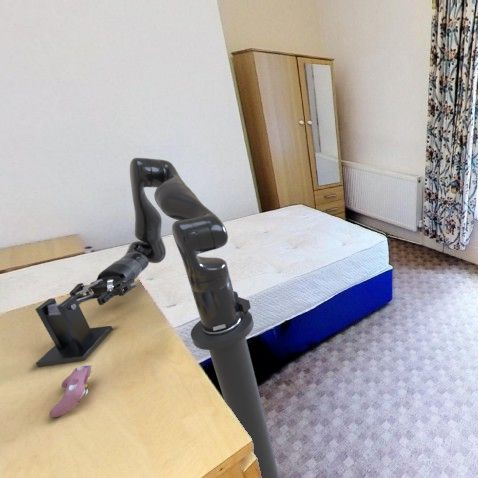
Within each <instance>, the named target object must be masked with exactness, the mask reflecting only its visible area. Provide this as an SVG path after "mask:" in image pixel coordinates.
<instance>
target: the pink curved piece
mask: <svg viewBox="0 0 478 478" xmlns="http://www.w3.org/2000/svg"><path fill="white" fill-rule="evenodd" d="M91 373H92V365H82V366H76V368H74V369H73V371H72V372H71V374H69V375H68V376H67V377H66V378H65V379H64V380H63V381H62V383H61V388H63V389H65V390H64V394H63V395H62V398H61V399H60V400H59V401H58V403H56V404H55V405H54V406H53V407H51V409H50V411H49V417H51V418H59V417H60V416H63V415H65V414H67V413H69V412H70V411H71V410H72V409H73V408H74V407H75V406H76V405H78V404H79V403H80V401H81V399H82V398H83V396H87V394H88V392H89V389H88V385H89V384H87V381H88V379H89V378H90V376H91Z"/></svg>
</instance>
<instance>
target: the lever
mask: <svg viewBox="0 0 478 478" xmlns="http://www.w3.org/2000/svg"><path fill="white" fill-rule="evenodd" d="M102 294H103V293H101V294H92V295H86V294H83V295H82V296H78V299H77V302H78V304H79V305H81V304H82V303H85V302H87V301H88V302H89V301H90V300H93V299H97V298H98V297H100V296H101V295H102ZM62 302H63V301H60V302H56V303H55V304H52V305H49V306H47V307H48V313H49V316H50V315H59V314H60V312H59V310H58V308H57V306H59V305H60V304H61V303H62ZM80 303H81V304H80Z"/></svg>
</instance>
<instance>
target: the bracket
mask: <svg viewBox="0 0 478 478" xmlns="http://www.w3.org/2000/svg"><path fill="white" fill-rule="evenodd" d="M61 302H62V303H61V304H60V305H59V306H57V308H58V310H59V312H60V314H59V315H50V316H49V313H48V307H47V306H49V305H52V304H55V303H57V300H56V299H55V298H54V297H53V298H47V300H45V301H44V302H43V303H41V304H40V305H38V306H37V307H36V308H35V309H34V310H35V312H36V313H37V315H38V317H39V318H40V320H41V323H42V324H43V326H44V327H45V330H46V332H47V333H48V335H49V336H50V339H51V340H52V342H53V343H54V346H52V348H50V349H49V350H48V351H46V353H45V354H44V355H43V356H42V357H40V358H39V359H38V360H37V361H36V362H35V364H36V366H37V368H41V367H49V366H55V365H61V364H68V363H75V362H83V361H85V360H86V359H87V358H88V357H89V356H90V355H91V354H92V353H93V352H94V351H95V350H96V349H97V347H98V346H99V345H100V344H101V343H102V342H103V341H104V340H105V339H106V337H108V336H109V334H110V333H111V332H112V331H113V330H114V329H113V326H112V325H104V326H96V327H90V325H89V323H88V321H87V319H86V316H85V315H84V312H83V311H82V309H81V306H80V304H78V302H77V300H76V298H75V296H69V297H67V298H66V299H64V300H63V301H61Z"/></svg>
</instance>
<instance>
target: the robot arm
mask: <svg viewBox="0 0 478 478" xmlns="http://www.w3.org/2000/svg"><path fill="white" fill-rule="evenodd" d="M129 180H130V189H131V197H132V203H133V209H134V237H135V238H136V239H137V240H135V241H132V242H131V243H130V244H129V245H128V247H127V251H126V252H125V254H123V256H122V257H121V258H119V259H118V260H116V261H114V262H113V263H111V264H110V265H108V266H107V267H106V268H104V270H102V271H101V272H99V274H98V275H97V278H96V280H94V281H92V282H90V283H89V284H84V283H83V282H81V283H77V284H76V285H75V286H74V287H73V288H72V289H71V290H70V292H69V293H68V294H69V297H71V296H75V298H76V300H77V299H78V296H82V295H92V294H101V293H103V294H102V295H101V296H100V297H98V298H96V301H97V303H98V305H99V306H104V305H105V304H106V303H108V302H109V301H110V300H111V299H114V298H116V297H117V296H118V297H123V296H125V295H126V294H127V293H129V292H130V291H132V290H133V289H135V288H136V287H137V283H136V281H135V280H136V279H137V278H138V277H139V276H140V274H141V273H142V272H143V271H145V270H146V268H147V267H148V266H149V264H150V263H151V264H159V263H162V261H164V260H165V258H166V255H167V248H166V245H165V242H164V239H163V236H162V228H163V227H162V226H163V225H162V224H163V219H162V216H161V214H160V212H159V210H157V208H156V207H155V206H154V205H153V203H152V202H151V201H150V200H149V198H148V196H147V195H146V191H145V188H151V189H152V188H153V189H154V188H155V191H154V194H153V195H154V200H155V203H156V205H157V206H158V207H159V209H160V210H161V212H162V213H163V214H164V215H165V216H167V217H168V218H171V219H173V220H176V221H174V222H173V223H172V225H171V232H172V237H173V240H174V242H175V245H176V248H177V249H178V252H179V255H180V258H181V260H182V264H183V267H184V269H185V273H186V275H187V276H186V277H187V280H188V283H189V286H190V290H191V292H192V296H193V299H194V303H195V307H196V309H197V313H198V316H199V319H200V320H201V323H202V327H203V331H204V333H205V334H207V335H221V334H225V333H228V332H230V331H232V330H233V329H235V328H236V327H237V326H238V325H239V324H240V322H241V320H243V319H244V318H243V314H242V312H244V315H246V314H247V312H249V310H250V309H251V308H252V307H251V303H250V300H248V299H245V298H244V297H240V296H239V293H238V291H235V290H234V287H233V283H232V279H231V276H230V271H229V267H228V263H227V261H226V260H224V259H223V258H221V257H216V256H215V257H213V256H211V257H210V256H201V254H203V253H207V252H211V251H214V250H219V249H220V248H223V247H224V246H226V245H227V243H228V240H229V234H228V231H227V230H228V229H227V227H226V226H225V224H224V223H223V222H222V220H221V219H220V218H219V216H217V214H215V213H214V212H213V211H211V209H209V208H208V207H207V206H205V205H204V204H203V203H202V201H201V200H200V199H199V198H198V196H197V195H196V194H195V193H194V191H193V190H192V189H191V188H190V187H189V186H188V185H187V184H186V182H185V181H184V180H183V179H182V177H181V176H180V174H179V172H178V171H177V169H176V168H175V166H174V164H173V163H172V162H171V161H169V160H166V159H160V158H149V157H134V158H131V161H130V163H129ZM199 254H200V255H199ZM81 304H82V303H80V304H79V305H81Z"/></svg>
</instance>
